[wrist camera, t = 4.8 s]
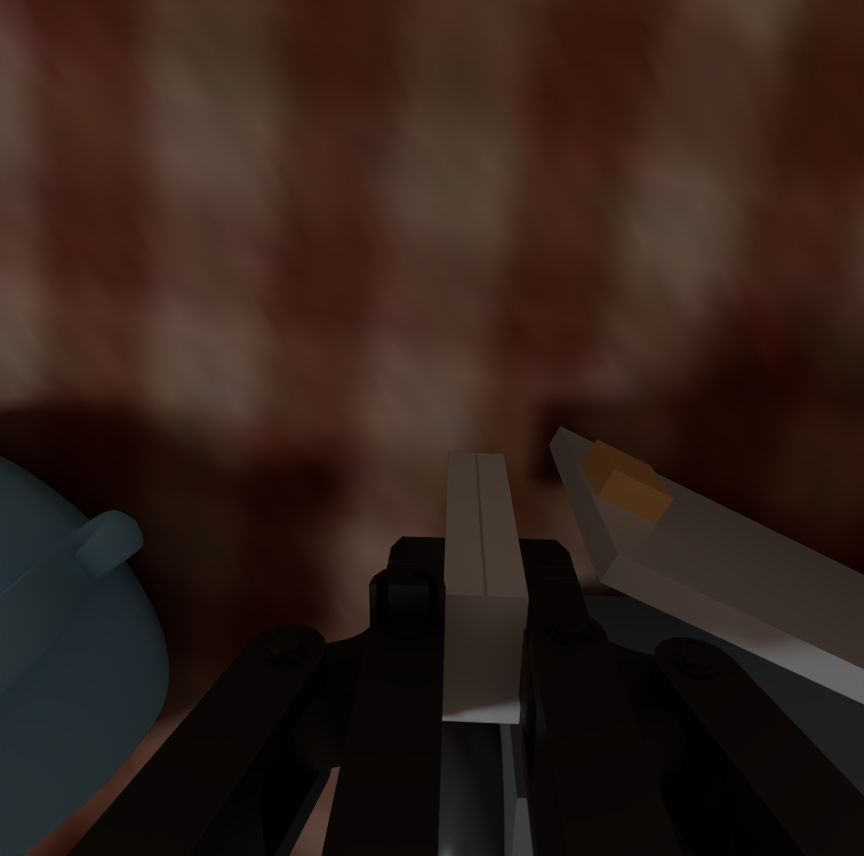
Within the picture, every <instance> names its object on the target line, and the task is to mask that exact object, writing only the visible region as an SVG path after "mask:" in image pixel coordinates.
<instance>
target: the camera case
mask: <svg viewBox="0 0 864 856" xmlns="http://www.w3.org/2000/svg"><path fill="white" fill-rule="evenodd" d="M583 598H584V601H585V604H586V607H587V610H588V613H589V616H590V617H592V618H593V619H595V620H596V621H597V622H599V623H600V624H601V626H602V627H603V629H604V630H605V632H606V634H607V637H608V640H609V641H611V642H613V643H615V644H617V645H619V646H622V647H625V648H628V649H631V650H635V651H638V652H642V653H646V654H650V655H654V653H655V648H656V647H657V646H658V645H659V644H660V643H661V642H662V641H663V640H667V639H670V638H673V637H689V638H693V639H698V640H702V641H706V642H708V643H710V644H712V645H714V646H716V647H718V648H720V649H722V650H723V651H724V652H725V653H727V654H728V655H729V656H730V657H732V658H733V659H734V660H735V661H736V662H737V663H738V664H739V665H740V667H741V668H742V669H743V670H744V671H745V672H746V673H747V674H748V675H749V676H750V677H751V678H752V679H753V680H754V681H755V682H756V683H757V684H758V685H759V686H760V687H761V689H762V690H763V691H764V692H765V693H766V694H767V695H768V696H769V697H770V698H771V699H772V700H773V701H774V702H775V703H776V704H777V705H778V706H779V707H780V708H781V709H782V711H783V712H784V713H785V714H786V715H787V716H788V717H789V718H790V719H791V720H792V721H793V722H794V723H795V724H796V725H797V726H798V727H799V728H800V729H801V730H802V731H803V733H804V734H805V735H806V736H807V737H808V738H809V739H810V740H811V741H812V742H813V743H814V744H815V745H816V746H817V747H818V748H819V749H820V750H821V751H822V752H823V753H824V755H825V756H826V757H827V758H828V759H829V760H830V761H831V762H832V763H833V764H834V765H835V766H836V767H837V768H838V769H839V770H840V771H841V772H842V773H843V774H844V775H845V776H846V778H847V779H848V780H849V781H850V782H851V783H852V784H853V785H854V786H855V787H856V788H857V789H858V790H859V791H860V792H861V793H862V794H863V795H864V704H862V703H860V702H858V701H856V700H853V699H851V698H849V697H847V696H845V695H843V694H840V693H838V692H836V691H834V690H832V689H830V688H827V687H825V686H823V685H821V684H819V683H817V682H815V681H812V680H810V679H808V678H806V677H804V676H802V675H799V674H797V673H795V672H793V671H791V670H789V669H786V668H784V667H782V666H780V665H778V664H776V663H773V662H771V661H769V660H767V659H765V658H763V657H760V656H758V655H756V654H754V653H752V652H750V651H748V650H745V649H743V648H741V647H739V646H737V645H735V644H732V643H730V642H728V641H726V640H724V639H722V638H719V637H717V636H715V635H713V634H711V633H709V632H706V631H704V630H702V629H700V628H698V627H696V626H693V625H691V624H689V623H687V622H685V621H683V620H681V619H678V618H676V617H674V616H672V615H670V614H668V613H665V612H663V611H661V610H659V609H657V608H655V607H652V606H650V605H648V604H646V603H644V602H642V601H639V600H637V599H635V598H633V597H627V596H601V595H583ZM522 726H523V724H522V716H521V708H520V717H519V724H508V723H484V722H463V721H442V751H441V783H440V816H439V848H438V856H533V851H532V842H531V833H530V824H529V815H528V806H527V797H526V788H525V780H518V776H519V764H520V751H521V738H522Z"/></svg>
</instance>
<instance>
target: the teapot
mask: <svg viewBox="0 0 864 856" xmlns="http://www.w3.org/2000/svg"><path fill="white" fill-rule="evenodd" d="M143 543H144V542H143V535H142V532H141V530H140V528H139V526H138V524H137V523H136V521H135V520H134V519H133V518H131V517H130V516H129V515H127V514H125V513H123V512H120V511H117V510H111V511H107V512H104V513H102V514H100V515H98V516H97V517H95V518H93V519H92V520H90V519H89V518H88V517H87V516H86V515H84V514H83V513H82V512H81V511H80V510H79V509H78V508H76V507H75V506H74V505H73V504H72V503H71V502H69V501H68V500H67V499H66V498H64V497H63V496H62V495H60V494H59V493H58V492H57V491H55V490H54V489H53V488H51V487H50V486H49V485H47V484H46V483H44V482H43V481H42V480H40V479H39V478H37V477H36V476H35V475H33V474H32V473H30V472H29V471H27V470H25V469H24V468H22V467H20V466H19V465H17V464H15V463H14V462H12V461H10V460H9V459H6V458H4V457H2V456H0V856H21V855H23V854H24V853H25V852H27V851H28V850H29V849H31V848H32V847H33V846H34V845H36V844H37V843H38V842H39V841H41V840H42V839H43V838H44V837H46V836H47V835H48V834H49V833H51V832H52V831H53V830H54V829H55V828H57V827H58V826H59V825H60V824H62V823H63V822H64V821H65V820H66V819H68V818H69V817H70V816H71V815H73V814H74V813H75V812H76V811H77V810H79V809H80V808H81V807H82V806H83V805H84V804H85V803H86V802H87V801H89V800H90V799H91V798H92V797H93V796H94V795H95V794H96V793H97V792H98V791H99V790H100V789H101V788H102V787H103V786H104V785H105V784H106V783H107V782H108V781H109V780H110V779H111V778H112V776H113V775H114V774H115V773H116V772H117V771H118V770H119V769H120V767H121V766H122V765H123V764H124V763H125V762H126V760H127V759H128V758H129V757H130V755H131V754H132V753H133V752H134V750H135V749H136V748H137V746H138V745H139V744H140V743H141V741H142V740H143V738H144V737H145V735H146V734H147V732H148V731H149V730H150V728H151V726H152V725H153V723H154V722H155V720H156V719H157V717H158V715H159V714H160V712H161V711H162V708H163V705H164V702H165V699H166V695H167V691H168V686H169V674H170V671H169V660H168V653H167V647H166V641H165V636H164V633H163V631H162V627H161V624H160V622H159V620H158V617H157V615H156V612H155V610H154V607H153V606H152V604H151V602H150V600H149V598H148V596H147V595H146V593H145V591H144V589H143V587H142V586H141V584H140V582H139V581H138V579H137V577H136V576H135V574H134V573H133V571H132V569H131V568H130V566H129V565H128V564H127V562H126V561H125V560H126V559H128V558H129V557H130V556H132V555H133V554H134V553H136V552H137V551H138V550H139V549H140V548H141V547H142V546H143Z"/></svg>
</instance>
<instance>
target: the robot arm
mask: <svg viewBox="0 0 864 856" xmlns="http://www.w3.org/2000/svg"><path fill="white" fill-rule="evenodd" d="M369 599H370V627H369V628H368V629H367V630H365V631H364V632H363V633H361V634H359V635H357V636H354V637H352V638H349V639H345V640H341V641H336V642H331V643H325V640H324V637H323V636H322V635H321V634H320V633H319V632H318V631H317V630H316V629H313V628H310V627H307V626H305V625H291V624H289V625H284V626H278V627H274V628H272V629H269V630H267V631H265V632H262V633H261V634H259V635H258V636H257V637H256V638H255V639H253V640H252V641H251V642H250V643H249V644H248V646H247V647H246V648H245V649H244V650H243V651H242V653H241V654H240V655H239V656H238V657H237V658H236V659H235V661H234V662H233V663H232V664H231V665H230V666H229V668H228V669H227V670H226V671H225V672H224V673H223V675H222V676H221V677H220V678H219V679H218V680H217V682H216V683H215V684H214V685H213V686H212V687H211V689H210V690H209V691H208V692H207V693H206V694H205V696H204V697H203V698H202V699H201V700H200V701H199V703H198V704H197V705H196V706H195V707H194V708H193V710H192V711H191V712H190V713H189V714H188V715H187V717H186V718H185V719H184V720H183V721H182V722H181V724H180V725H179V726H178V727H177V728H176V729H175V731H174V732H173V733H172V734H171V735H170V736H169V738H168V739H167V740H166V741H165V742H164V743H163V745H162V746H161V747H160V748H159V749H158V750H157V752H156V753H155V754H154V755H153V756H152V757H151V759H150V760H149V761H148V762H147V763H146V764H145V765H144V767H143V768H142V769H141V770H140V771H139V772H138V774H137V775H136V776H135V777H134V778H133V779H132V781H131V782H130V783H129V784H128V785H127V786H126V788H125V789H124V790H123V791H122V792H121V793H120V795H119V796H118V797H117V798H116V799H115V800H114V802H113V803H112V804H111V805H110V806H109V807H108V809H107V810H106V811H105V812H104V813H103V814H102V816H101V817H100V818H99V819H98V820H97V821H96V823H95V824H94V825H93V826H92V827H91V828H90V830H89V831H88V832H87V833H86V834H85V835H84V837H83V838H82V839H81V840H80V841H79V842H78V844H77V845H76V846H75V847H74V848H73V849H72V851H71V852H70V853H69V854H68V855H67V856H289V855H290V853H291V851H292V849H293V847H294V845H295V843H296V841H297V839H298V837H299V835H300V834H301V832H302V830H303V828H304V826H305V824H306V822H307V820H308V818H309V816H310V814H311V812H312V810H313V808H314V806H315V805H316V803H317V801H318V799H319V797H320V795H321V793H322V791H323V789H324V787H325V785H326V783H327V781H328V779H329V776H330V773H331V769H332V768H334V767H338V766H340V770H339V775H338V780H337V784H336V789H335V794H334V799H333V804H332V808H331V813H330V818H329V823H328V827H327V832H326V837H325V842H324V847H323V851H322V856H438V848H439V816H440V783H441V751H442V721H463V722H484V723H508V724H519V717H520V708H521V716H522V724H523V726H522V738H521V751H520V764H519V776H518V780H525V788H526V797H527V806H528V815H529V824H530V833H531V842H532V851H533V856H864V795H863V794H862V793H861V792H860V791H859V790H858V789H857V788H856V787H855V786H854V785H853V784H852V783H851V782H850V781H849V780H848V779H847V778H846V776H845V775H844V774H843V773H842V772H841V771H840V770H839V769H838V768H837V767H836V766H835V765H834V764H833V763H832V762H831V761H830V760H829V759H828V758H827V757H826V756H825V755H824V753H823V752H822V751H821V750H820V749H819V748H818V747H817V746H816V745H815V744H814V743H813V742H812V741H811V740H810V739H809V738H808V737H807V736H806V735H805V734H804V733H803V731H802V730H801V729H800V728H799V727H798V726H797V725H796V724H795V723H794V722H793V721H792V720H791V719H790V718H789V717H788V716H787V715H786V714H785V713H784V712H783V711H782V709H781V708H780V707H779V706H778V705H777V704H776V703H775V702H774V701H773V700H772V699H771V698H770V697H769V696H768V695H767V694H766V693H765V692H764V691H763V690H762V689H761V687H760V686H759V685H758V684H757V683H756V682H755V681H754V680H753V679H752V678H751V677H750V676H749V675H748V674H747V673H746V672H745V671H744V670H743V669H742V668H741V667H740V665H739V664H738V663H737V662H736V661H735V660H734V659H733V658H732V657H730V656H729V655H728V654H727V653H725V652H724V651H723V650H722V649H720V648H718V647H716V646H714V645H712V644H710V643H708V642H706V641H702V640H698V639H693V638H689V637H673V638H670V639H667V640H663V641H662V642H661V643H660V644H659V645H658V646H657V647H656V648H655V653H654V655H650V654H646V653H642V652H638V651H635V650H631V649H628V648H625V647H622V646H619V645H617V644H615V643H613V642H611V641H609V640H608V637H607V634H606V632H605V630H604V629H603V627H602V626H601V624H600V623H599V622H597V621H596V620H595V619H593V618H592V617H590V616H589V613H588V610H587V607H586V604H585V601H584V598H583V594H582V591H581V588H580V585H579V582H578V580H577V576H576V572H575V569H574V568H573V563H572V560H571V557H570V553H569V552H568V551H567V550H566V549H565V548H564V547H563V546H562V545H561V544H560V543H559V542H558V541H557V540H542V539H518V535H517V529H516V523H515V518H514V512H513V506H512V501H511V495H510V489H509V484H508V478H507V473H506V467H505V461H504V456H503V454H483V453H450V452H449V464H448V489H447V514H446V538H434V537H404V536H402V537H401V538H400V539H399V540H398V541H397V542H396V543H395V544H394V545H393V546H392V547H391V550H390V555H389V560H388V565H387V569H384V570H382V571H381V572H379V573H378V574H376V575H375V576H374V577H373V579H372V580H371V582H370V584H369Z"/></svg>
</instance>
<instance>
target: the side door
mask: <svg viewBox="0 0 864 856" xmlns="http://www.w3.org/2000/svg"><path fill="white" fill-rule="evenodd" d="M549 447H550V450H551V453H552V455H553V458H554V461H555V463H556V466H557V469H558V471H559V474H560V477H561V480H562V482H563V485H564V488H565V490H566V493H567V496H568V498H569V501H570V504H571V507H572V509H573V512H574V515H575V517H576V520H577V523H578V525H579V528H580V531H581V534H582V536H583V539H584V542H585V544H586V547H587V550H588V552H589V555H590V558H591V560H592V563H593V566H594V569H595V571H596V574H597V577H598V579H599V582H601V583H603V584H605V585H607V586H609V587H611V588H614V589H616V590H618V591H620V592H622V593H624V594H626V595H629V596H631V597H633V598H635V599H637V600H639V601H642V602H644V603H646V604H648V605H650V606H652V607H655V608H657V609H659V610H661V611H663V612H665V613H668V614H670V615H672V616H674V617H676V618H678V619H681V620H683V621H685V622H687V623H689V624H691V625H693V626H696V627H698V628H700V629H702V630H704V631H706V632H709V633H711V634H713V635H715V636H717V637H719V638H722V639H724V640H726V641H728V642H730V643H732V644H735V645H737V646H739V647H741V648H743V649H745V650H748V651H750V652H752V653H754V654H756V655H758V656H760V657H763V658H765V659H767V660H769V661H771V662H773V663H776V664H778V665H780V666H782V667H784V668H786V669H789V670H791V671H793V672H795V673H797V674H799V675H802V676H804V677H806V678H808V679H810V680H812V681H815V682H817V683H819V684H821V685H823V686H825V687H827V688H830V689H832V690H834V691H836V692H838V693H840V694H843V695H845V696H847V697H849V698H851V699H853V700H856V701H858V702H860V703H862V704H864V575H863V574H861V573H859V572H857V571H855V570H853V569H851V568H849V567H847V566H845V565H843V564H841V563H839V562H836V561H834V560H832V559H830V558H828V557H826V556H824V555H822V554H820V553H818V552H816V551H814V550H812V549H810V548H808V547H806V546H804V545H802V544H800V543H798V542H796V541H794V540H792V539H790V538H788V537H785V536H783V535H781V534H779V533H777V532H775V531H773V530H771V529H769V528H767V527H765V526H763V525H761V524H759V523H757V522H755V521H753V520H751V519H749V518H747V517H745V516H743V515H741V514H739V513H737V512H735V511H732V510H730V509H728V508H726V507H724V506H722V505H720V504H718V503H716V502H714V501H712V500H710V499H708V498H706V497H704V496H702V495H700V494H698V493H696V492H694V491H692V490H690V489H688V488H686V487H684V486H681V485H679V484H677V483H675V482H673V481H671V480H669V479H667V478H665V477H663V476H661V475H659V474H657V473H655V471H654V470H653V469H652V467H651V466H650V465H649V464H647V463H645V462H643V461H640V460H638V459H636V458H634V457H632V456H630V455H628V454H626V453H624V452H622V451H620V450H618V449H616V448H614V447H612V446H610V445H608V444H606V443H604V442H602V441H600V440H598V439H597V440H596V442H595V443H594V442H592V441H590V440H588V439H586V438H584V437H582V436H579V435H577V434H575V433H573V432H571V431H569V430H567V429H565V428H563V427H561V426H560V428H559V429H558V431H557V433H556V434H555V436H554V438H553V439H552V441H551V443H550V444H549Z"/></svg>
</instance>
